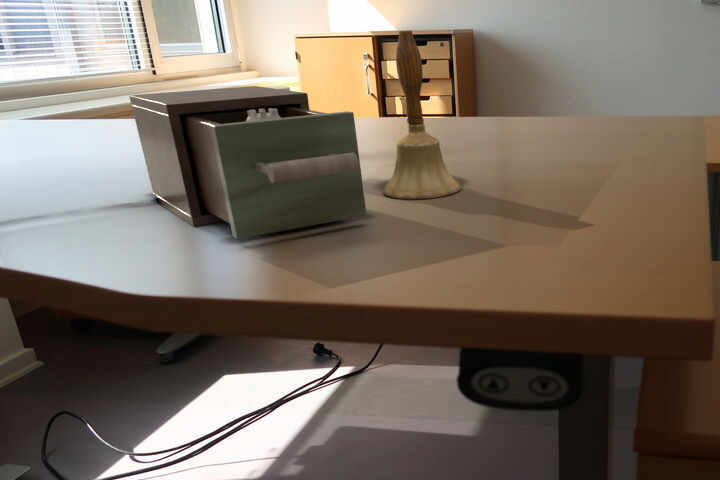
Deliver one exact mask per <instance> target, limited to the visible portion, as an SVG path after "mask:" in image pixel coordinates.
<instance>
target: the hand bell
mask: <svg viewBox="0 0 720 480" xmlns="http://www.w3.org/2000/svg"><path fill="white" fill-rule="evenodd" d="M395 51H396V53H395V64H396V65H395V66H396V73H397V77H398V80H399V84H400V87H401V89H402V92H403V95H404V98H405V108H406V109H405V110H406V117H407V118H406V123H407V133H406V135H404V136H403V137H401V138H400V139H398V140H397V142H396V159H395V165H394V171H393V173H392V176H391V178H390V180H389V181H388V183H387V184H386V185H385V186H384V188H383V194H384V196H386V197H389V198H392V199H393V198H395V199H399V200H427V199H428V200H429V199H436V198H442V197H447V196H450V195H453V194H456V193H457V192H459V191H460V190H461V185H460V183H459V182H458V181H457V180H456V179H455V178H454V177H453V176H452V174H450V172H449V170H448V169H447V167H446V163H445V162H444V161H445V160H444V159H443V155H442V151H441V150H442V149H441V146H440V145H441V144H440V141H439V139H438V138H437V137H435V136H432V135H430V134H429V133H428V132H427V131H426V127H425V123H424V121H425V120H424V117H423V108H422V107H423V106H422V101H421V90H422V84H423V62H422V55H421V52H420V50H419V47H418V45H417V43H416V39H415V37H414V35H413V30H399V31H398V40H397V46H396V50H395Z"/></svg>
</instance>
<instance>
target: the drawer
mask: <svg viewBox="0 0 720 480" xmlns="http://www.w3.org/2000/svg"><path fill="white" fill-rule="evenodd" d="M270 108H271V109H277V110H278V115H279V116H280V117H281V118H277V119H267V120H257V121H247V122H245V121H246V120H247V118H248V112H247V111H249V110H256V114H258V113H259V109H265V111H266V113H269V110H268V109H270ZM180 121H181V125H182V130H183V134H184V139H185V143H186V148H187V152H188V157H189V161H190V166H191V170H192V175H193V179H194V184H195V188H196V193H197V197H198V202H199V206H200V207H202V208H203V209H205V210H207V211H209V212H210V213H212V214H214V215H216V216H217V217H219V218H221V219H223V220H224V221H225V222H226V223H228V224H229V225H230V230H231V235H232V237H234V238H235V239H237V240H241V239H246V238H252V237H257V236H262V235H267V234H274V233H278V232H283V231H289V230H293V229H300V228H304V227H310V226H316V225H320V224H327V223H332V222H337V221H342V220H348V219H354V218H358V217H363V216H367V207H366V201H365V200H366V199H365V193H364V183H363V175H362V167H361V162H360V153H359V145H358V137H357V129H356V123H355V114H354V112H352V111H338V112H329V113H328V112H323V111H318V110H317V111H316V110H312V109H311V110H306V109H300V108H295V107H289V106H279V107H268V108H257V109H246V110H235V111H224V112H213V113H202V114H191V115H180Z"/></svg>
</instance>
